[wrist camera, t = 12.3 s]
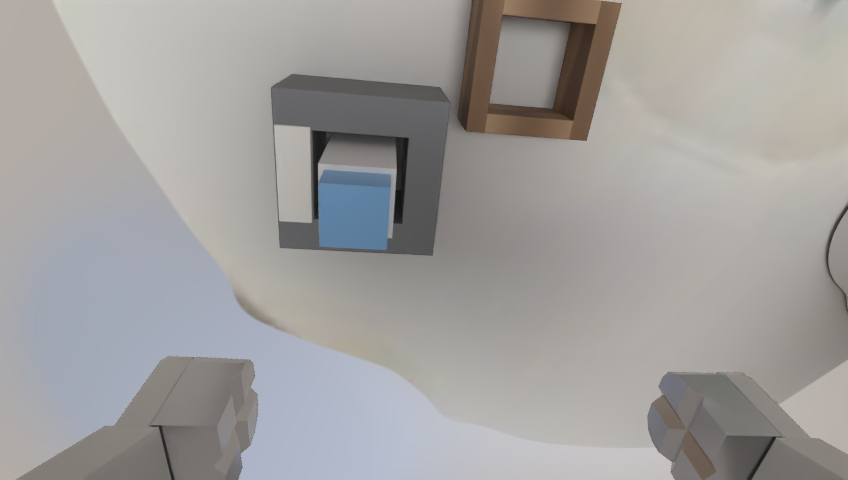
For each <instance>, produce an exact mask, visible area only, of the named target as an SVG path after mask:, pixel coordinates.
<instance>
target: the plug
mask: <svg viewBox="0 0 848 480" xmlns="http://www.w3.org/2000/svg"><path fill="white" fill-rule="evenodd" d="M396 174H397V162H396V137H392V136H379V135H366V134H353V133H340V132H333V134H332V136H331V138H330V140H329V142H328V144H327V146H326V148H325V150H324V152H323V154H322V156H321V158H320V161H319V163H318V203H319V247H334V248H354V249H374V250H387V238H392V233H393V218H394V203H395V188H396Z"/></svg>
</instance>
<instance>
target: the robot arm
mask: <svg viewBox="0 0 848 480" xmlns="http://www.w3.org/2000/svg"><path fill="white" fill-rule="evenodd" d="M828 261H829V269H830V273H831V275H832V278H833V279H834V281H835V282H836V284H837V285H838V286H839V287H840V288H841V289H842V290H843V291H844V293H845V294H846V296H847V307H848V210H847V212H846V213H845V215H844V216H843V218H842V219H841V221H840V223H839V225H838V227H837V228H836V231H835V233H834V235H833V238H832V241H831V245H830V249H829V259H828ZM254 378H255V371H254V365H253V362H252V361H251V360H247V359H227V358H208V357H179V356H167V357H166V358H164V359H162V360H161V361H160V362H159V364H158V365H157V367H156V368H155V369H154V371H153V372H152V374H151V375H150V376H149V378H148V379H147V380H146V382H145V383H144V385H143V386H142V387H141V389H140V390H139V392H138V393H137V394H136V396H135V397H134V399H133V400H132V402H131V403H130V404H129V406H128V407H127V409H126V410H125V411H124V413H123V414H122V416H121V417H120V419H119V420H118V421H117V423H116V424H115V425H114V426H104V427H102V428H101V429H99V430H98V431H96V432H94V433H92V434H91V435H89V436H87V437H86V438H84V439H82V440H81V441H79V442H77V443H76V444H74V445H72V446H71V447H69V448H68V449H66V450H64V451H62V452H61V453H59V454H58V455H56V456H54V457H53V458H51V459H49V460H48V461H46V462H44V463H43V464H41V465H39V466H38V467H36V468H34V469H33V470H31V471H30V472H28V473H26V474H24V475H23V476H21V477H20V478H18V479H16V480H238V478H239V475H240V473H241V470H242V461H241V453H242V452H243V451H244V450H246V449H247V448H248V447H249V446H250V445H251V441H252V439H253V435H254V433H255V428H256V422H257V417H258V397H257V393H256V392H255V391H254V390H253V389H252V388H251V385H252V383H253V380H254ZM659 389H660V391H661V393H662V396H661V397H659V398H658V399H657V400H655V401H654V402H653V403H652V404H651V407H650V410H649V413H648V430H649V433H650V436H651V439H652V441H653V443H654V445H655V447H656V448H657V450H658V452H659V453H661V454H662V455H663V456H665V457H666V458H667V459H669V460H670V461H672V466H671V473H672V475H673V477H674V479H675V480H848V454H846V453H844V452H842V451H840V450H839V449H837V448H835V447H833V446H832V445H830V444H828V443H826V442H824V441H823V440H821V439H815V438H810V437H809V436H808V435H807V434H806V433H805V432H804V431H803V429H801V428H800V426H799V425H798V424H796V422H794V420H793V419H792V418H790V416H789V415H788V414H787V413H786V412H785V411H784V410H783V409H782V408H781V407H780V406H779V405H778V404H777V403H776V402H775V401H774V400H773V399H772V398H771V397H770V396H769V395H768V394H767V393H766V392H765V391H764V390H763V389H762V388H761V387H760V386H759V385H758V384H757V383H756V382H755V381H754V380H753V379H752V378H751V377H749V376H747V375H745V374H743V373H720V372H718V373H699V372H668V373H667V374H666V375H664V376H663V377H662V380H661V382H660V385H659Z"/></svg>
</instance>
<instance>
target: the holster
mask: <svg viewBox="0 0 848 480" xmlns="http://www.w3.org/2000/svg"><path fill="white" fill-rule="evenodd" d="M621 4H622V3H615V2H607V1H598V0H472V8H471V16H470V24H469V32H468V40H467V48H466V56H465V64H464V72H463V80H462V88H461V96H460V104H459V112H458V119H459V121H460V123H461V124H462V126H463V127H464V129H465V130H466V131H468V132H481V133H493V134H506V135H519V136H531V137H544V138H557V139H569V140H582V141H587V137H588V133H589V129H590V125H591V121H592V117H593V114H594V110H595V106H596V102H597V98H598V94H599V90H600V86H601V82H602V78H603V74H604V70H605V67H606V63H607V59H608V55H609V51H610V47H611V43H612V39H613V35H614V31H615V27H616V24H617V20H618V16H619V12H620V8H621ZM502 16H512V17H521V18H531V19H540V20H550V21H559V22H569V23H572V24H571V28H570V33H569V38H568V42H567V47H566V52H565V56H564V61H563V66H562V70H561V75H560V79H559V84H558V89H557V93H556V98H555V103H554V107H553V109H547V108H536V107H524V106H512V105H501V104H489V101H490V94H491V88H492V81H493V75H494V68H495V62H496V55H497V49H498V42H499V35H500V29H501V22H502Z"/></svg>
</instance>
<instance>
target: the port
mask: <svg viewBox="0 0 848 480" xmlns="http://www.w3.org/2000/svg"><path fill="white" fill-rule="evenodd" d="M271 97H272V115H273V133H274V151H275V169H276V187H277V205H278V223H279V241H280V248H292V249H312V250H332V251H352V252H372V253H392V254H412V255H432V256H433V248H434V239H435V231H436V222H437V213H438V205H439V196H440V187H441V179H442V170H443V161H444V153H445V144H446V135H447V127H448V118H449V109H450V101H449V100H448V98H447V97H446V95H445V94H444V93H443V91H442V90H441V88H440V87H431V86H420V85H408V84H397V83H386V82H375V81H363V80H352V79H341V78H329V77H318V76H307V75H295V74H292V75H290V76H288V77H287V78H285V79H284V80H282V81H280V82H279V83H277V84H276V85H274V86H272V87H271ZM326 131H327V132H340V133H353V134H366V135H379V136H392V137H404V150H403V163H402V177H401V190H400V191H395V203H394V218H393V233H392V238H387V250H374V249H354V248H334V247H319V203H318V163H319V161H320V158H321V156H322V154H323V152H324V150H325V148H326Z"/></svg>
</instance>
